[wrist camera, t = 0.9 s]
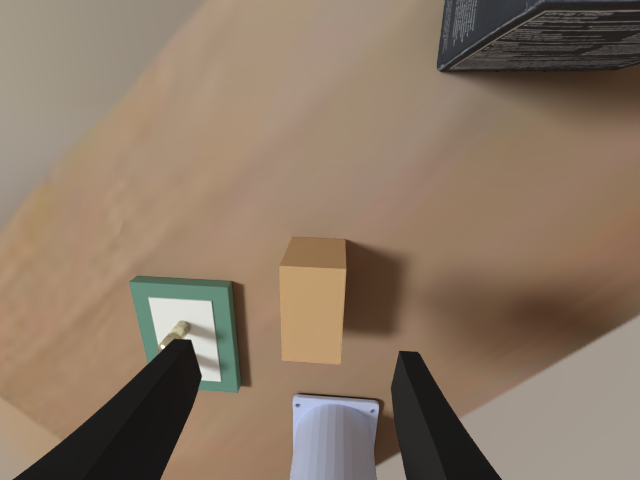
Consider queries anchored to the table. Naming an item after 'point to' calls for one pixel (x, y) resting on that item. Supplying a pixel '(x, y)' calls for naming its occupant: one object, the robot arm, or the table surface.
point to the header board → (191, 324)
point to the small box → (539, 35)
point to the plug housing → (312, 300)
